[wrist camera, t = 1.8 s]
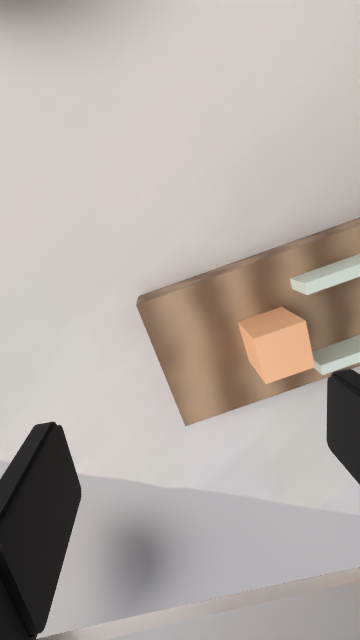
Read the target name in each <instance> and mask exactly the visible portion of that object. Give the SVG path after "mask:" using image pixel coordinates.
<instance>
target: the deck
mask: <svg viewBox="0 0 360 640" xmlns="http://www.w3.org/2000/svg"><path fill="white" fill-rule="evenodd" d="M358 254H360V218H358V219H355V220H352V221H349V222H347V223H344V224H341V225H338V226H335V227H333V228H330V229H327V230H324V231H321V232H318V233H316V234H313V235H310V236H307V237H304V238H302V239H299V240H296V241H293V242H290V243H288V244H285V245H282V246H279V247H276V248H274V249H271V250H268V251H265V252H262V253H259V254H257V255H254V256H251V257H248V258H245V259H243V260H240V261H237V262H234V263H231V264H229V265H226V266H223V267H220V268H217V269H214V270H212V271H209V272H206V273H203V274H200V275H198V276H195V277H192V278H189V279H186V280H184V281H181V282H178V283H175V284H172V285H170V286H167V287H164V288H161V289H158V290H155V291H153V292H150V293H147V294H144V295H141V296H139V297H138V300H137V304H136V306H137V308H138V311H139V313H140V316H141V318H142V320H143V323H144V325H145V328H146V330H147V333H148V335H149V338H150V340H151V343H152V345H153V347H154V350H155V352H156V355H157V357H158V360H159V362H160V365H161V367H162V370H163V372H164V374H165V377H166V379H167V382H168V384H169V387H170V389H171V392H172V394H173V397H174V399H175V402H176V404H177V406H178V409H179V411H180V414H181V416H182V419H183V421H184V424H185V426H188V425H190V424H193V423H196V422H199V421H202V420H205V419H208V418H211V417H214V416H216V415H219V414H222V413H225V412H228V411H231V410H234V409H237V408H240V407H242V406H245V405H248V404H251V403H254V402H257V401H260V400H263V399H266V398H268V397H271V396H274V395H277V394H280V393H283V392H286V391H289V390H292V389H294V388H297V387H300V386H303V385H306V384H309V383H312V382H315V381H318V380H320V379H323V378H326V377H329V376H331V375H332V373H333V372H335V371H333V372H330V373H327V374H325V375H322V374H321V373H319V372H318V371H317V370H316V369H315V368H311V369H308V370H305V371H303V372H300V373H297V374H294V375H291V376H288V377H285V378H282V379H279V380H277V381H274V382H271V383H268V384H265V382H264V381H263V380H262V378H261V377H260V376H259V374H258V373H257V371H256V370H255V369H254V367H253V366H252V365H251V363H250V362H249V359H248V356H247V352H246V349H245V345H244V342H243V338H242V335H241V331H240V328H239V325H238V322H240V321H243V320H245V319H248V318H251V317H254V316H257V315H260V314H262V313H265V312H268V311H271V310H274V309H277V308H279V307H283V308H285V309H287V310H288V311H290V312H292V313H293V314H295V315H297V316H298V317H300V318H302V319H304V320H305V321H306V325H307V329H308V334H309V339H310V344H311V349H312V351H315V350H318V349H321V348H324V347H327V346H330V345H332V344H335V343H338V342H341V341H344V340H347V339H350V338H353V337H355V336H358V335H360V277H357V278H354V279H352V280H349V281H346V282H343V283H340V284H337V285H335V286H332V287H329V288H326V289H323V290H320V291H318V292H315V293H312V294H309V295H305V294H303V293H300V292H298V291H296V290H293V289H292V286H291V281H290V278H293V277H296V276H298V275H301V274H304V273H307V272H310V271H313V270H315V269H318V268H321V267H324V266H327V265H329V264H332V263H335V262H338V261H341V260H344V259H346V258H349V257H352V256H355V255H358ZM358 366H360V362H359V363H356V364H353V365H351V366H348V367H345V368H342V369H339V370H336V371H341V370H347V369H352V368H355V367H358Z"/></svg>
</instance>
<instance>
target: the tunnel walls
mask: <svg viewBox="0 0 360 640" xmlns="http://www.w3.org/2000/svg"><path fill="white" fill-rule="evenodd" d="M357 277H360V254H358V255H355V256H352V257H349V258H346V259H344V260H341V261H338V262H335V263H332V264H329V265H327V266H324V267H321V268H318V269H315V270H313V271H310V272H307V273H304V274H301V275H298V276H296V277H293V278H290V281H291V286H292V289H293V290H296V291H298V292H300V293H303V294H305V295H309V294H312V293H315V292H318V291H320V290H323V289H326V288H329V287H332V286H335V285H337V284H340V283H343V282H346V281H349V280H352V279H354V278H357ZM312 354H313V359H314V364H315V367H314V368H315V369H316V370H317V371H318V372H319V373H321V374H322V375H325V374H327V373H330V372H333V371H336V370H339V369H342V368H345V367H348V366H351V365H353V364H356V363H359V362H360V335H358V336H355V337H353V338H350V339H347V340H344V341H341V342H338V343H335V344H332V345H330V346H327V347H324V348H321V349H318V350H315V351H312Z"/></svg>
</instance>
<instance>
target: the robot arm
mask: <svg viewBox="0 0 360 640" xmlns="http://www.w3.org/2000/svg"><path fill="white" fill-rule="evenodd" d="M327 443H328V446H329V448H330V450H331V451H332V452H333V454H334V455H335V456H336V457H337V458H338V460H339V461H340V462H341V463H342V464H343V465H344V467H345V468H346V469H347V470H348V471H349V472H350V474H351V475H352V476H353V477H354V478H355V480H356V481H357V482H358V483H359V484H360V374H358V373H357V372H355V371H354V370H352V369H347V370H341V371H335V372H333V373H332V375H331V377H329V378H328V381H327ZM80 500H81V486H80V483H79V480H78V476H77V473H76V470H75V467H74V463H73V460H72V457H71V454H70V451H69V447H68V444H67V441H66V438H65V434H64V431H63V428H62V426H61V425H57V424H56V423H55V422H49V423H43V424H37V425H35V426H34V427H33V429H32V430H31V432H30V434H29V435H28V437H27V438H26V440H25V441H24V443H23V445H22V446H21V448H20V449H19V451H18V452H17V454H16V456H15V457H14V459H13V460H12V462H11V463H10V465H9V467H8V468H7V470H6V471H5V473H4V474H3V476H2V478H1V479H0V640H360V567H358V568H353V569H349V570H344V571H340V572H335V573H330V574H325V575H320V576H316V577H311V578H306V579H302V580H297V581H293V582H288V583H283V584H279V585H274V586H270V587H265V588H260V589H256V590H251V591H246V592H242V593H237V594H233V595H228V596H224V597H219V598H214V599H210V600H205V601H201V602H196V603H191V604H187V605H182V606H178V607H174V608H169V609H165V610H160V611H156V612H151V613H147V614H143V615H138V616H134V617H129V618H124V619H120V620H115V621H111V622H107V623H102V624H98V625H93V626H89V627H84V628H80V629H76V630H72V631H68V632H64V633H60V634H56V635H52V636H48V637H44V638H40V639H36V637H37V634H38V633H41V632H42V631H43V630H44V628H45V625H46V622H47V619H48V615H49V611H50V608H51V604H52V601H53V597H54V594H55V590H56V586H57V583H58V579H59V575H60V572H61V568H62V565H63V561H64V557H65V554H66V550H67V547H68V543H69V539H70V535H71V532H72V528H73V525H74V521H75V517H76V514H77V510H78V507H79V503H80Z"/></svg>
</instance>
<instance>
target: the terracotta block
mask: <svg viewBox="0 0 360 640" xmlns="http://www.w3.org/2000/svg"><path fill="white" fill-rule="evenodd" d="M238 325H239V328H240V331H241V335H242V338H243V342H244V345H245V349H246V352H247V356H248V359H249V362H250V363H251V365H252V366H253V367H254V369H255V370H256V371H257V373H258V374H259V376H260V377H261V378H262V380H263V381H264V382H265V384H268V383H271V382H274V381H277V380H279V379H282V378H285V377H288V376H291V375H294V374H297V373H300V372H303V371H305V370H308V369H311V368H314V367H315V364H314V359H313V354H312V349H311V344H310V339H309V334H308V329H307V325H306V321H305V320H304V319H302V318H300V317H298V316H297V315H295V314H293V313H292V312H290V311H288V310H287V309H285V308H283V307H279V308H277V309H274V310H271V311H268V312H265V313H262V314H260V315H257V316H254V317H251V318H248V319H245V320H243V321H240V322H238Z"/></svg>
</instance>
